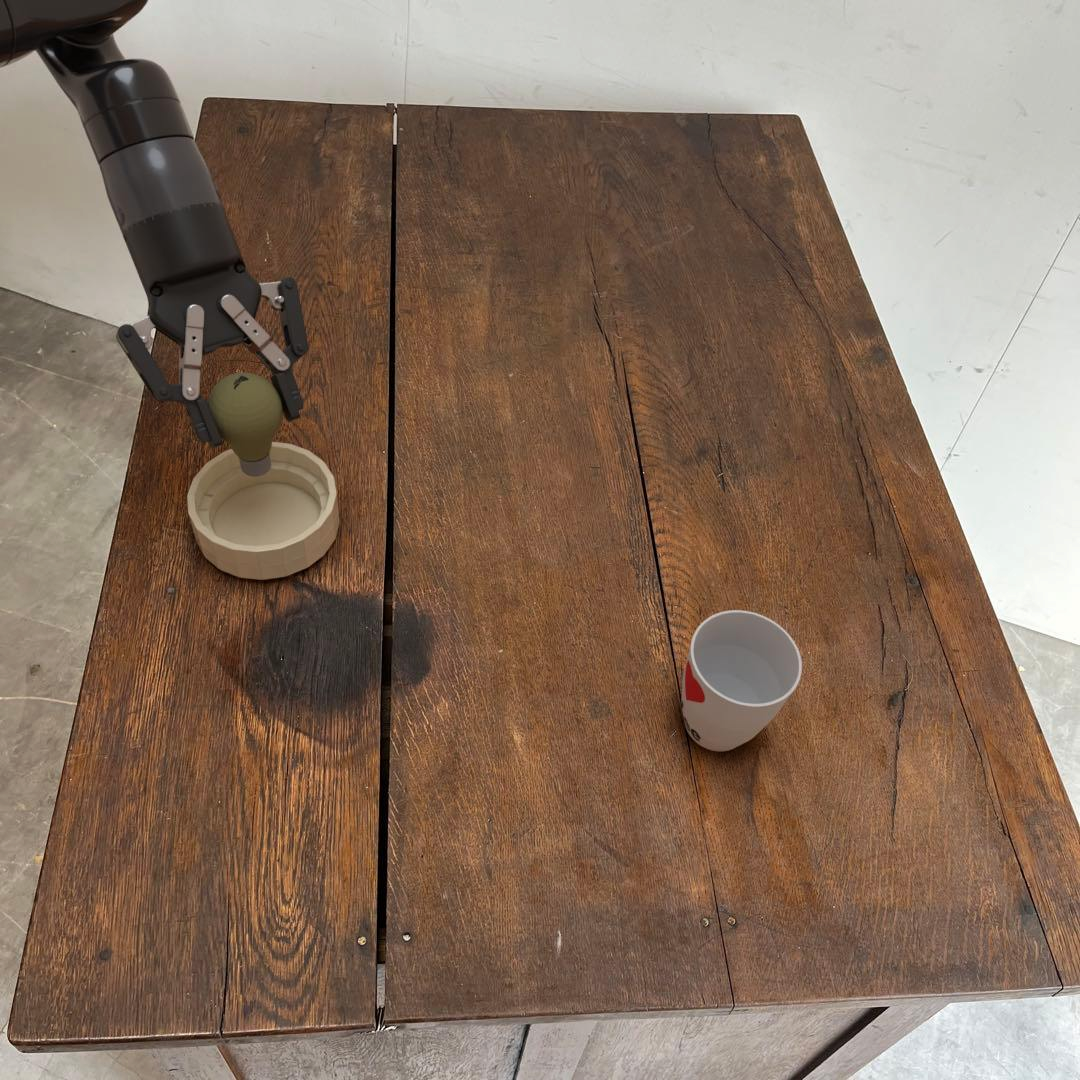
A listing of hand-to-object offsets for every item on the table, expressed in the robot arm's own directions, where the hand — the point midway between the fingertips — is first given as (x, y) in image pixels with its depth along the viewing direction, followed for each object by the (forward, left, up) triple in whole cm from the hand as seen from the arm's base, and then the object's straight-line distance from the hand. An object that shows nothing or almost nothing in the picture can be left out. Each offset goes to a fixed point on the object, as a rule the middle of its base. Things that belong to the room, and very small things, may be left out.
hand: (255, 432), depth 79 cm
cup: (+23, -33, -14) cm, 43 cm away
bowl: (0, +2, -13) cm, 14 cm away
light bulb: (0, +2, -6) cm, 7 cm away
